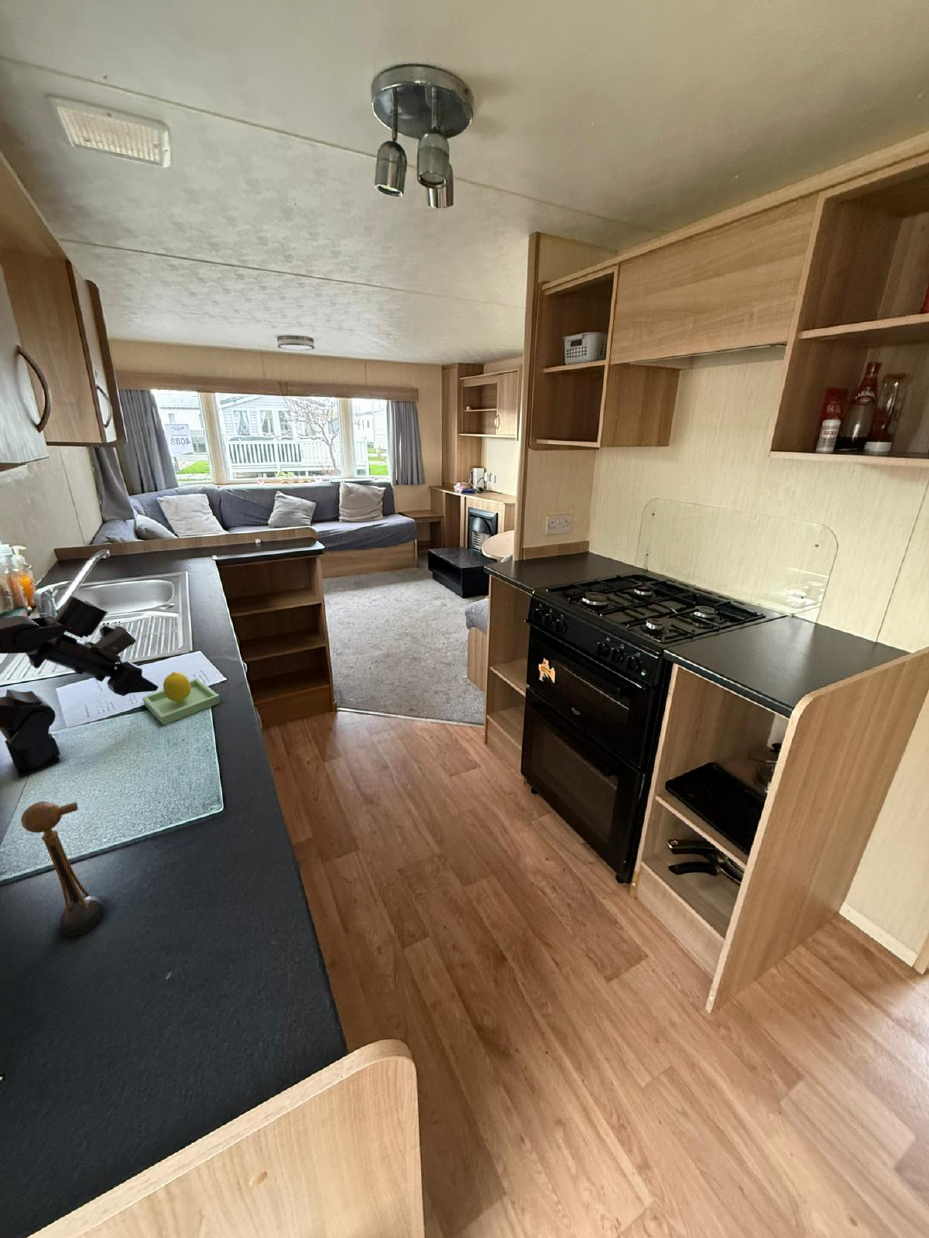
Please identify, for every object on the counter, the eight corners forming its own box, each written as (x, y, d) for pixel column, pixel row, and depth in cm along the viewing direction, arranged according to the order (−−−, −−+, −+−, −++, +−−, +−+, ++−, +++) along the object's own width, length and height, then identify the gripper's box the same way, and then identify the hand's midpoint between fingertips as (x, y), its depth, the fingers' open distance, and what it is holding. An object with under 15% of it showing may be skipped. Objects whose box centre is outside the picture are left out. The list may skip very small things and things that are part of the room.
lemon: (189, 693, 123) (182, 664, 120) (196, 702, 119) (189, 672, 116) (164, 701, 120) (157, 672, 117) (171, 711, 116) (163, 680, 113)
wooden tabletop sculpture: (114, 894, 72) (73, 783, 65) (114, 919, 68) (70, 804, 61) (64, 914, 69) (14, 800, 62) (60, 942, 66) (7, 824, 58)
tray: (163, 725, 112) (161, 717, 111) (144, 705, 120) (142, 697, 119) (220, 702, 120) (218, 695, 120) (199, 685, 128) (197, 678, 127)
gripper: (118, 631, 97) (188, 662, 109) (85, 610, 108) (152, 640, 120) (82, 682, 94) (158, 708, 107) (51, 655, 105) (123, 682, 117)
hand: (148, 682), depth 113 cm, fingers open, 9 cm apart
